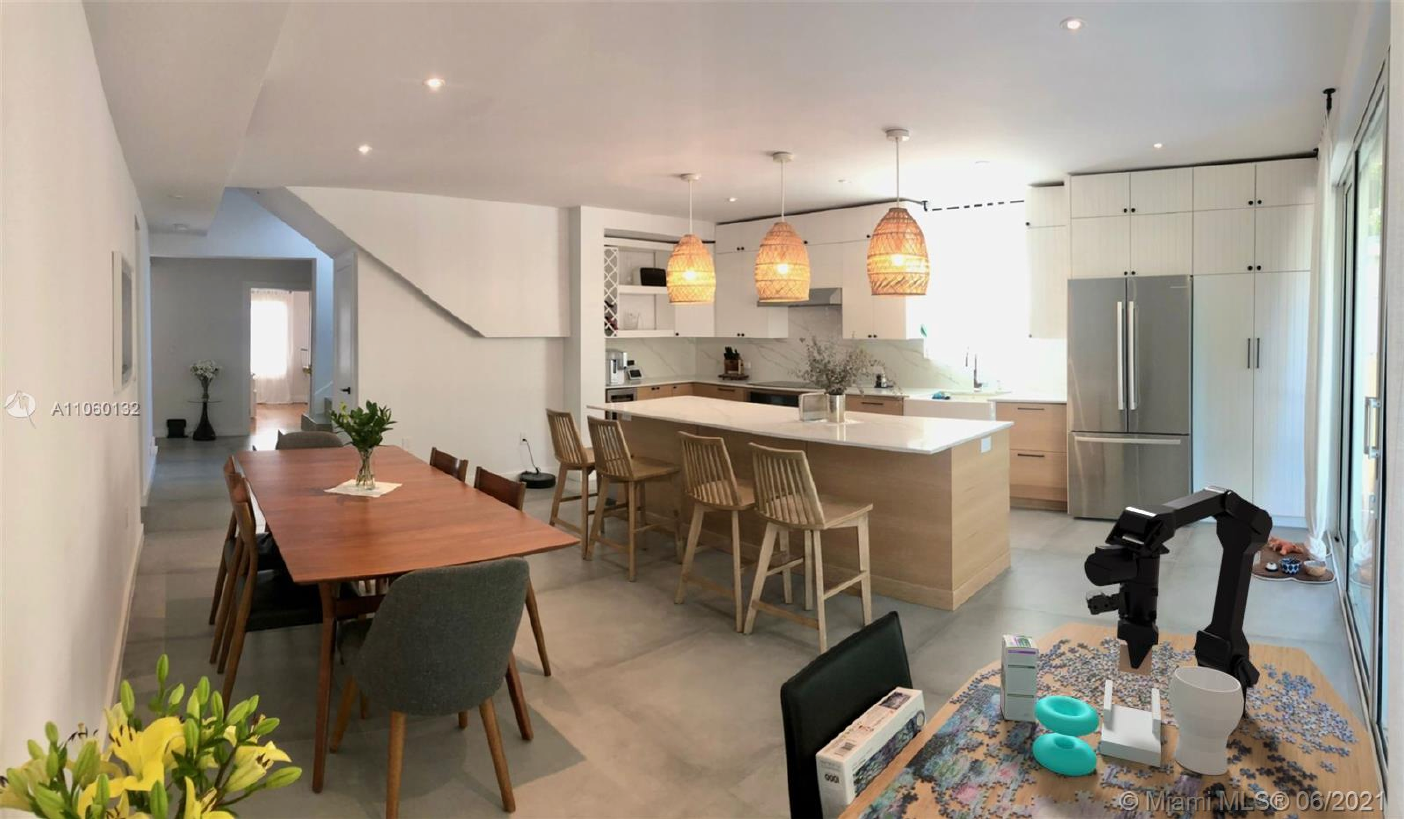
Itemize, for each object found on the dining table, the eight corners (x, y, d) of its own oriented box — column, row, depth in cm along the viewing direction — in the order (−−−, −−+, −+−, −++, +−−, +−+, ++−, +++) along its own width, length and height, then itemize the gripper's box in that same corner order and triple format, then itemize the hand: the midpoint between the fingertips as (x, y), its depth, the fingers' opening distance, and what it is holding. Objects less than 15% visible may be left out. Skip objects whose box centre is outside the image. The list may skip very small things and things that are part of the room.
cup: (1238, 788, 130) (1246, 699, 128) (1162, 768, 136) (1168, 683, 134) (1237, 757, 139) (1244, 673, 137) (1165, 739, 145) (1171, 659, 143)
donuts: (1066, 726, 130) (1021, 698, 139) (1063, 784, 131) (1019, 753, 141) (1113, 715, 134) (1067, 688, 143) (1110, 772, 135) (1064, 742, 144)
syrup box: (1036, 723, 151) (1040, 648, 149) (1002, 720, 152) (1006, 645, 150) (1030, 708, 156) (1034, 636, 154) (998, 705, 157) (1001, 633, 156)
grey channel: (1157, 714, 154) (1159, 689, 153) (1159, 767, 136) (1161, 739, 136) (1104, 703, 158) (1105, 679, 157) (1100, 753, 140) (1101, 726, 140)
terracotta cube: (1150, 665, 147) (1152, 639, 147) (1150, 676, 143) (1152, 649, 142) (1119, 660, 150) (1120, 634, 149) (1118, 670, 145) (1120, 644, 145)
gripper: (1092, 558, 156) (1087, 635, 158) (1087, 587, 140) (1082, 674, 142) (1158, 566, 151) (1153, 646, 153) (1161, 598, 135) (1155, 687, 137)
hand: (1134, 662), depth 146 cm, fingers closed on terracotta cube, 5 cm apart
